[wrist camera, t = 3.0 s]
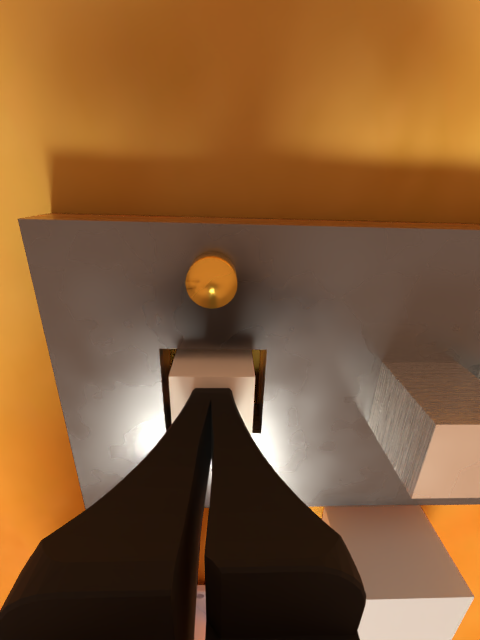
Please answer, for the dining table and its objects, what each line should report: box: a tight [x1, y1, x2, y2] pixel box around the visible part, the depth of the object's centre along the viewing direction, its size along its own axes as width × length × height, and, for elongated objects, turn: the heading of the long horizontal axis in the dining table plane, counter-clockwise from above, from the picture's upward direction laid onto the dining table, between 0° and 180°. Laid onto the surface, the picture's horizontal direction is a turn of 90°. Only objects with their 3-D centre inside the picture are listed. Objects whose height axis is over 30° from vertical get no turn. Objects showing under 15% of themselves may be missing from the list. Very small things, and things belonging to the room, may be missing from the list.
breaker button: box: [168, 349, 255, 436], centre depth 13 cm, size 3×3×3 cm
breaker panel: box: [18, 213, 480, 509], centre depth 12 cm, size 20×13×6 cm, turn 88°
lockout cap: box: [322, 505, 474, 640], centre depth 18 cm, size 6×6×4 cm
